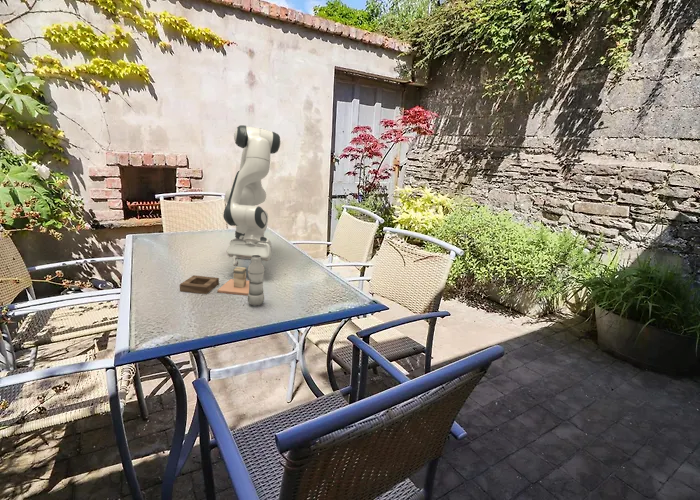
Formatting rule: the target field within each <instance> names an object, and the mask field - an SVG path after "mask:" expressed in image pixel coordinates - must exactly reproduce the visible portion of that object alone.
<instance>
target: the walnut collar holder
mask: <svg viewBox="0 0 700 500" xmlns="http://www.w3.org/2000/svg"><path fill="white" fill-rule="evenodd" d="M219 285H220V279H219V277H212V276H204V275H203V276H202V275H191V276H190V277H189V278H187V279H186V280H185V281H183V282H181V283H180V284H179V292H182V293H191V294H192V293H193V294H202V295H203V294H204V295H208V294H209V293H210V292H212V291H213V290H214V289H215V288H216V287H218V286H219Z"/></svg>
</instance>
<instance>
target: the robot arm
mask: <svg viewBox="0 0 700 500" xmlns="http://www.w3.org/2000/svg"><path fill="white" fill-rule="evenodd" d="M233 134H234V135H233V139H234V142H235V144H236V146H237V147H239V148H241V149H243V150H242V153H241V159H240V164H239V169H238V170H237V172H236V174H235V177H234V180H233V182H232V183H233V184H232V187H230V188H229V189H227V191H225V193H224V200H225V202H226V205H225V208H224V210H223V214H222V215H223V219H224V221H225V223H226V224H228V226H232V227H234V226H235V231H234V232H235V233H234V235H235V236H234V237H235V238H234V239H231V240H230V242H229V245H228V247H227V250H226V254H227V256H228V257H229V258H232V259H233V263H232V264H233V267H239V266H238V265H239V262H238V261H237V260H238V259H241V260H251V256H252V255H260V256H261V261H260V262H261V263H262V264H263V261H264V262H269V261H270V260H271V259H272V253H273V251H272V247H273V245H272V242H271V240H270V238H268V237H266V236H265V233H266V231H267V227H268V222H269V214H268V213H267V211H266V210H265V209H263V208H262V207H261V206H259V205H261V204H262V203H264V202H266V200H267V199H266V198H267V193H266V190H265V188H264V187H263V186H262V184H263V183H262V180H263V179H264V178H265V177H267V175H268V174H269V172H270V164H271V155H273V154H277V153H278V152H279V149H280V147H281V143H282V141H281V137H280V135H279V134H278V132H277V133H276V132H275V131H270V130H268V129H265V128H260V127H254V126H247V125H238V126H237V127H236V129H235V130H234V133H233Z"/></svg>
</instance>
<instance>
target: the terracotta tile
mask: <svg viewBox="0 0 700 500" xmlns="http://www.w3.org/2000/svg"><path fill="white" fill-rule="evenodd" d="M216 292H217V293H220V294H227V295H228V294H229V295H237V296H247V297H248V293H249V280H247V279H246V285H245V286H244V287H243V288H237V287H234V278H230V279H229V280H228V281H226V282H225V283H224V284H222V285H221V286H220V287H219V288H218V289H217V290H216Z"/></svg>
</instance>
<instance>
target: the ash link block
mask: <svg viewBox="0 0 700 500" xmlns="http://www.w3.org/2000/svg"><path fill="white" fill-rule="evenodd" d="M232 272H233V279H234V287H237V288H243V287H244V286H245V285H246V280H247V268H246V267H241V266H235V267H234V269H233V271H232Z"/></svg>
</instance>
